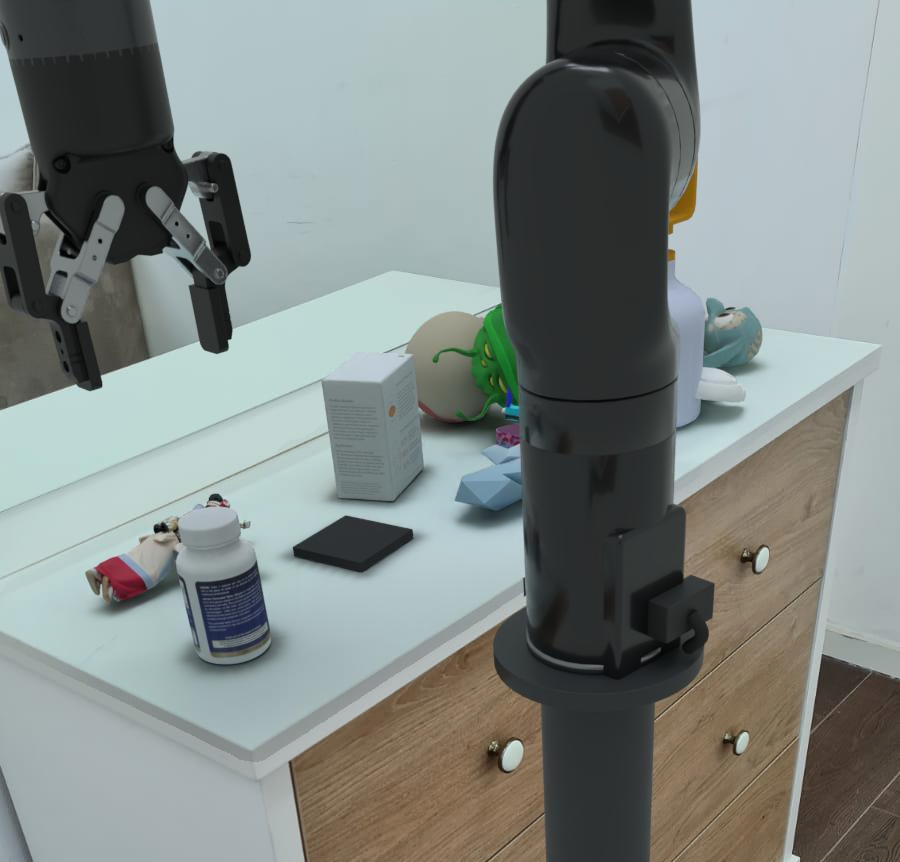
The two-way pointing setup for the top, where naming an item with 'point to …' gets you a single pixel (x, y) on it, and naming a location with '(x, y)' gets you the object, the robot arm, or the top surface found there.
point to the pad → (353, 543)
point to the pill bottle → (221, 587)
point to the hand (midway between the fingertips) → (154, 368)
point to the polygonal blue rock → (494, 480)
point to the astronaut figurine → (719, 386)
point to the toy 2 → (447, 367)
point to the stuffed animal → (730, 335)
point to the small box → (374, 425)
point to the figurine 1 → (145, 559)
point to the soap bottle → (686, 316)
